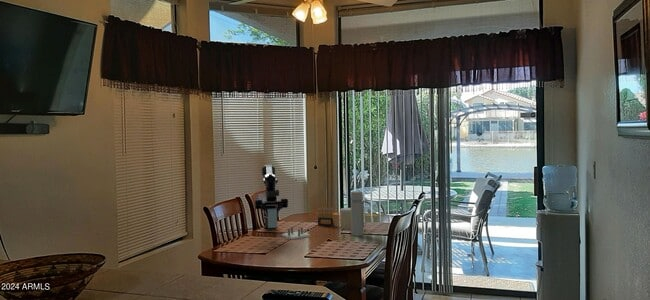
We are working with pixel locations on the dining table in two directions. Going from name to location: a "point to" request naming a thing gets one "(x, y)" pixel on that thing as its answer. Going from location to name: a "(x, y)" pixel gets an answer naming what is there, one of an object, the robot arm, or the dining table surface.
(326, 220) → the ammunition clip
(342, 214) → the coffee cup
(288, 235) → the base plate
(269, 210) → the block
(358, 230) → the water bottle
